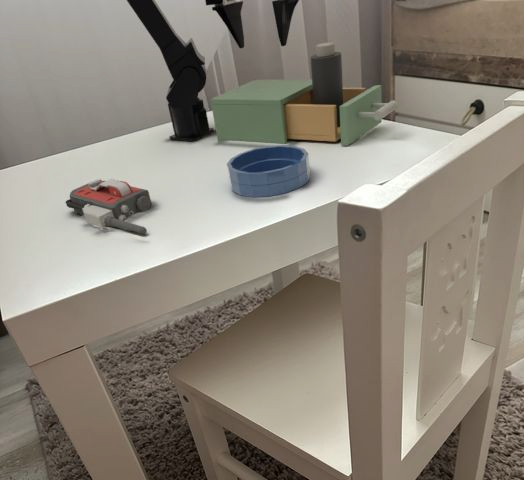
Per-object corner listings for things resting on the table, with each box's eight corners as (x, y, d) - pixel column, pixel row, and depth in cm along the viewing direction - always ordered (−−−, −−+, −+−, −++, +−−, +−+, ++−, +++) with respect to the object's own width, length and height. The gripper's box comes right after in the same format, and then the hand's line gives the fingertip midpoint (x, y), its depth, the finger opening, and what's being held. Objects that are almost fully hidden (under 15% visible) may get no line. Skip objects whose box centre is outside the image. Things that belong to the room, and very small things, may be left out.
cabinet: (325, 124, 97) (322, 78, 92) (285, 148, 88) (280, 100, 84) (260, 121, 104) (254, 79, 100) (218, 143, 96) (210, 99, 91)
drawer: (405, 123, 88) (406, 85, 84) (372, 147, 80) (372, 106, 77) (313, 119, 97) (310, 85, 93) (276, 141, 89) (272, 104, 86)
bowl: (216, 197, 75) (211, 169, 73) (261, 169, 82) (257, 143, 79) (282, 206, 69) (278, 176, 67) (324, 175, 76) (322, 147, 74)
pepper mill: (317, 131, 87) (311, 49, 80) (313, 123, 91) (307, 44, 84) (346, 126, 87) (343, 43, 80) (341, 119, 91) (337, 39, 83)
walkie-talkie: (56, 217, 77) (141, 245, 66) (44, 188, 74) (131, 211, 63) (105, 195, 82) (191, 217, 70) (95, 167, 79) (184, 184, 68)
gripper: (324, -76, 85) (329, 35, 95) (233, -59, 95) (246, 40, 104) (287, -70, 79) (297, 48, 88) (194, -53, 88) (211, 52, 98)
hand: (262, 46), depth 95 cm, fingers open, 9 cm apart
